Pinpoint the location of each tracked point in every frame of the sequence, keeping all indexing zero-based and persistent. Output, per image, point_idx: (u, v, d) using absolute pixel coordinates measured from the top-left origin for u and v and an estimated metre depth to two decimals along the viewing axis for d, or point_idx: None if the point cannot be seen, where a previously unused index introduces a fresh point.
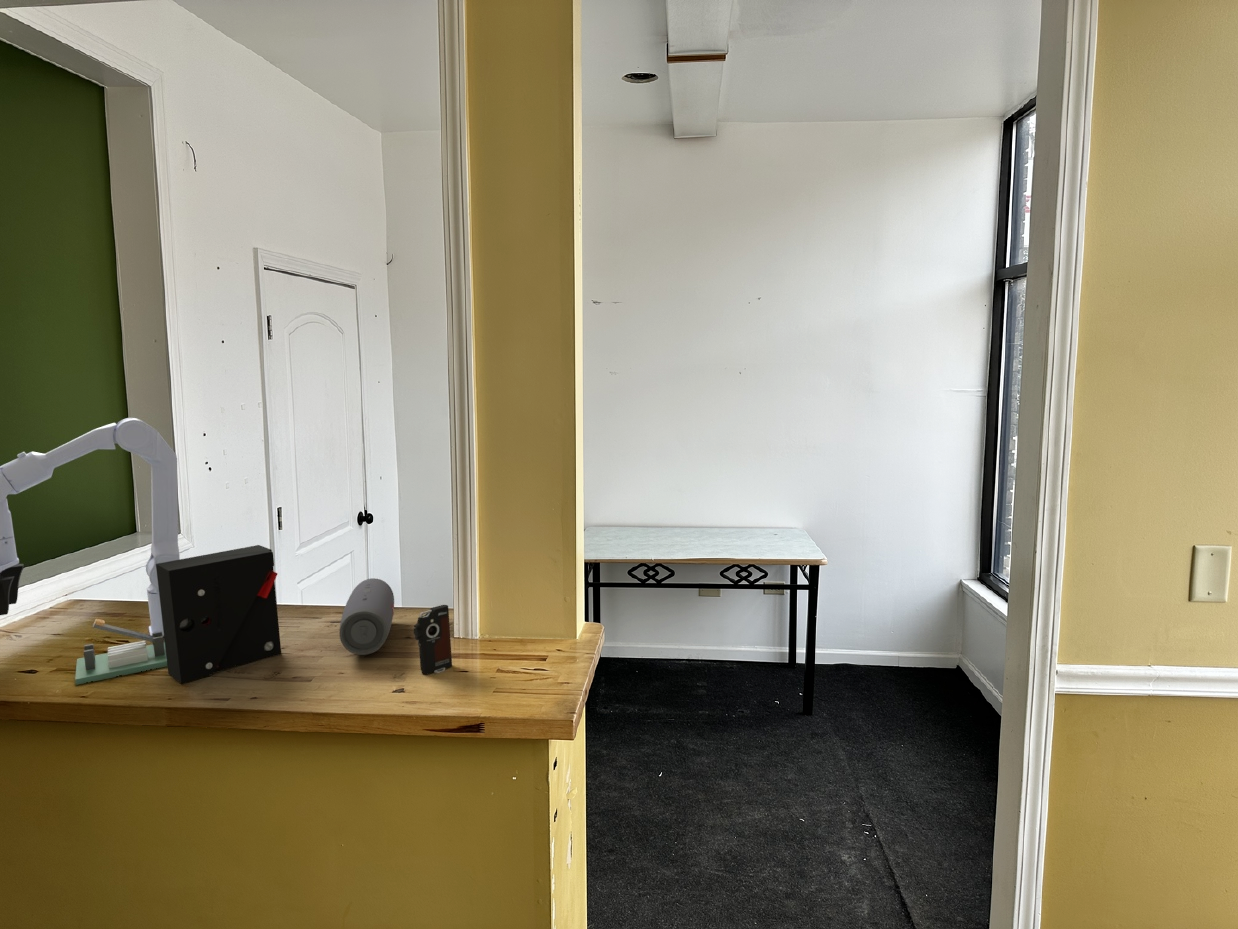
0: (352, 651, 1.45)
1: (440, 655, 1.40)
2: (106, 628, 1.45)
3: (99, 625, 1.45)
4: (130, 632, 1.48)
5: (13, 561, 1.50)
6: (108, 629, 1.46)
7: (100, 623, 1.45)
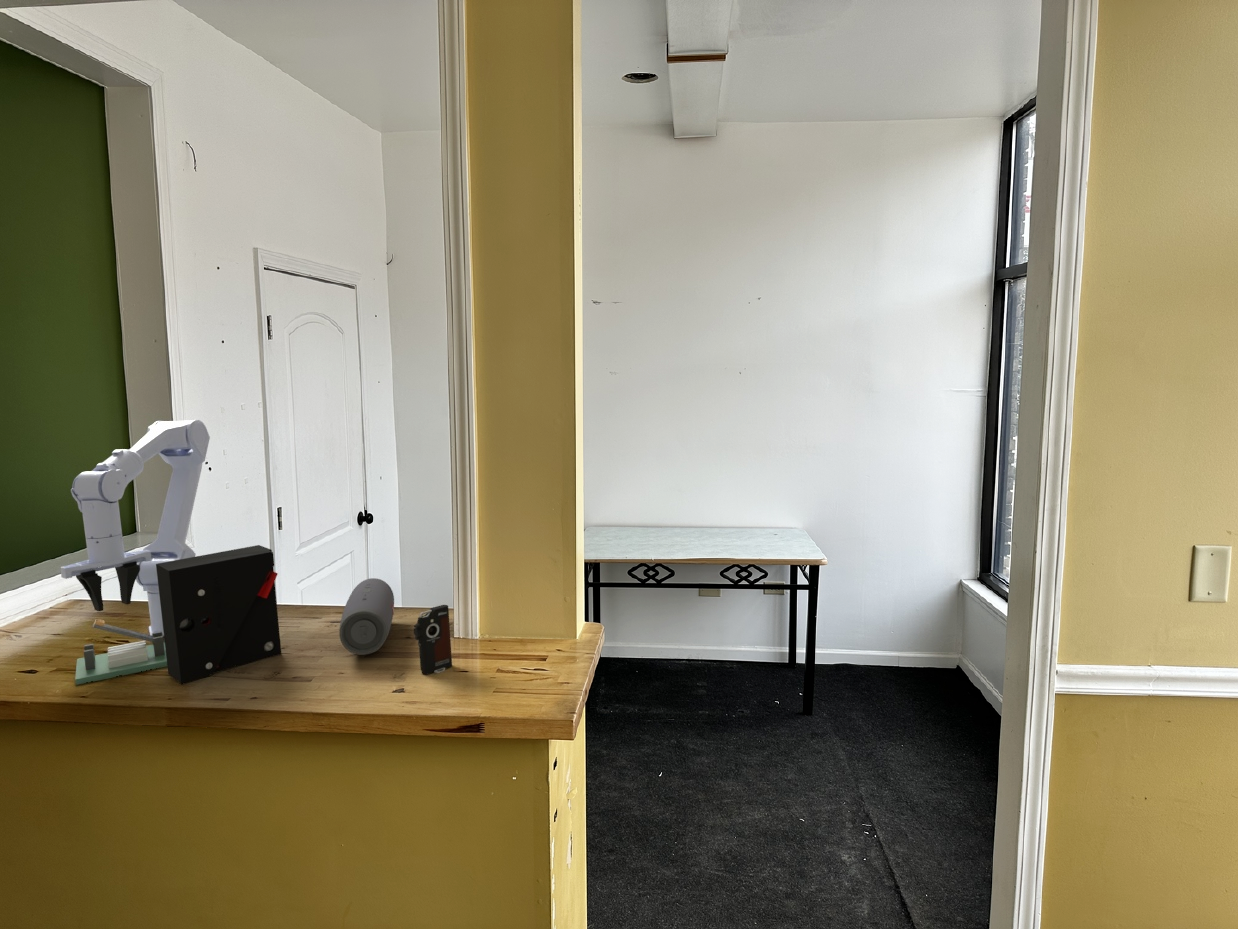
0: (352, 651, 1.45)
1: (440, 655, 1.40)
2: (106, 628, 1.45)
3: (99, 625, 1.45)
4: (130, 632, 1.48)
5: (103, 562, 1.47)
6: (108, 629, 1.46)
7: (100, 623, 1.45)
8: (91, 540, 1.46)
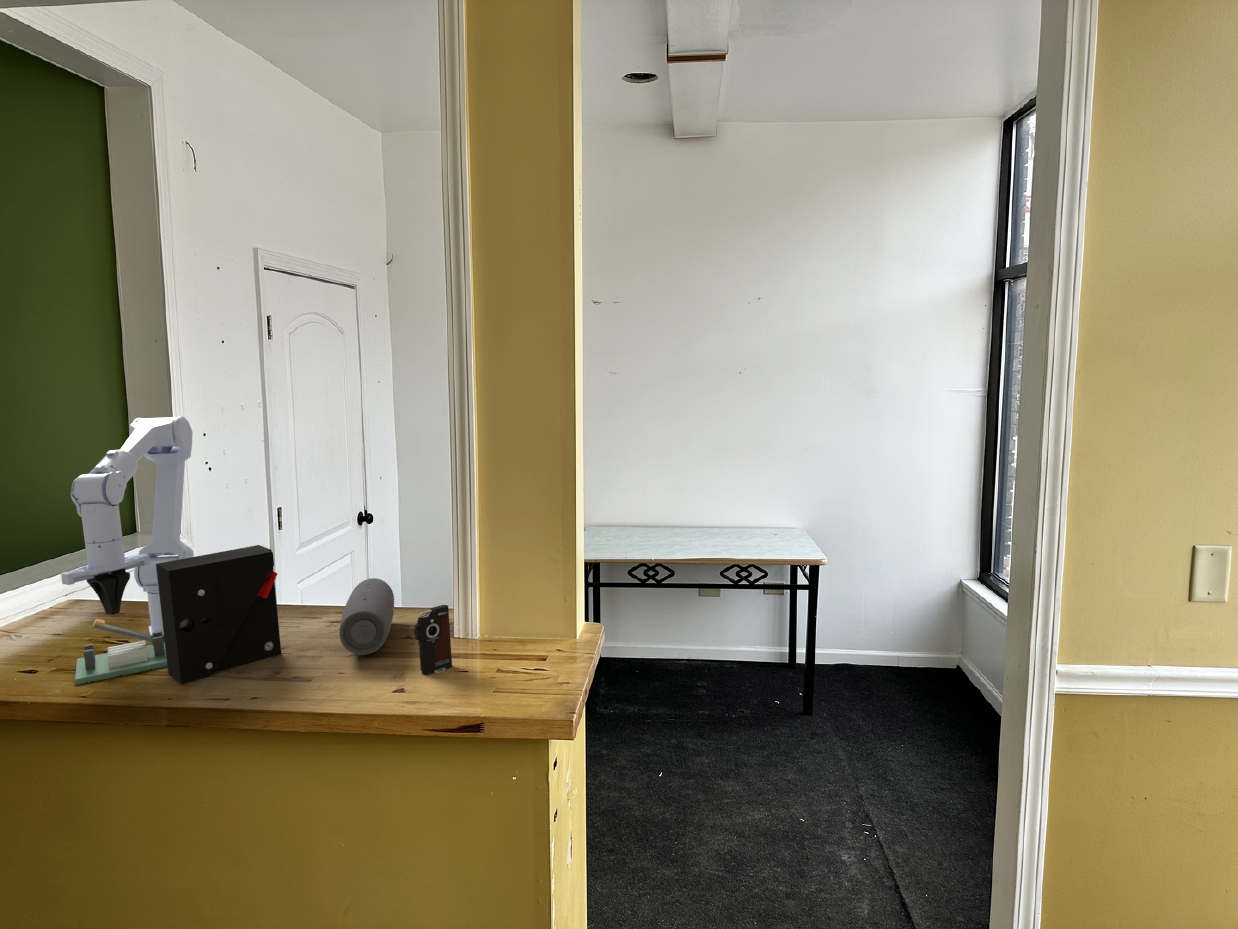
0: (352, 651, 1.45)
1: (440, 655, 1.40)
2: (106, 628, 1.45)
3: (99, 625, 1.45)
4: (130, 632, 1.48)
5: (106, 567, 1.43)
6: (108, 629, 1.46)
7: (100, 623, 1.45)
8: (93, 545, 1.42)
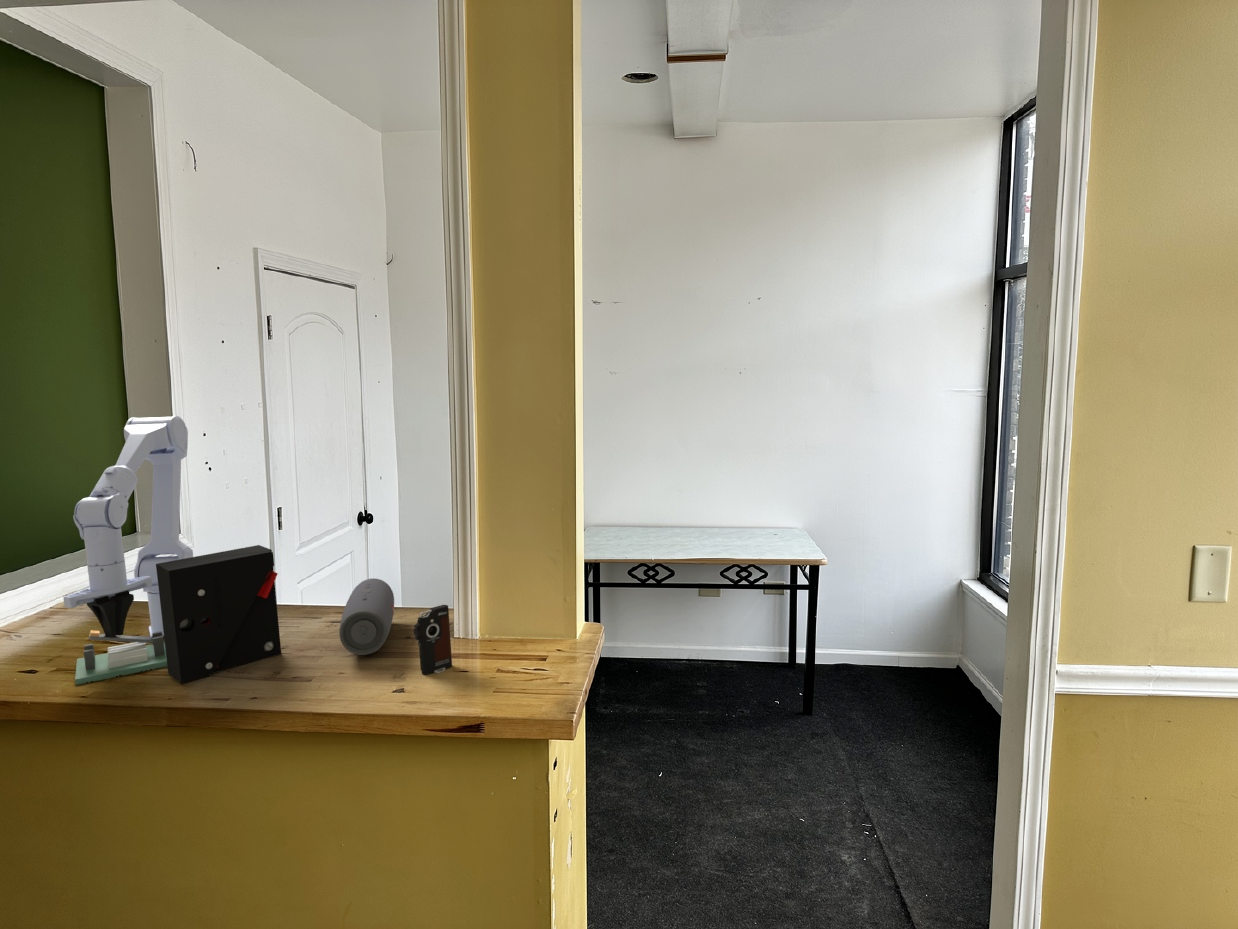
0: (352, 651, 1.45)
1: (440, 655, 1.40)
2: (102, 638, 1.45)
3: (94, 636, 1.45)
4: (127, 637, 1.48)
5: (108, 590, 1.43)
6: (104, 638, 1.45)
7: (95, 634, 1.45)
8: (95, 568, 1.42)
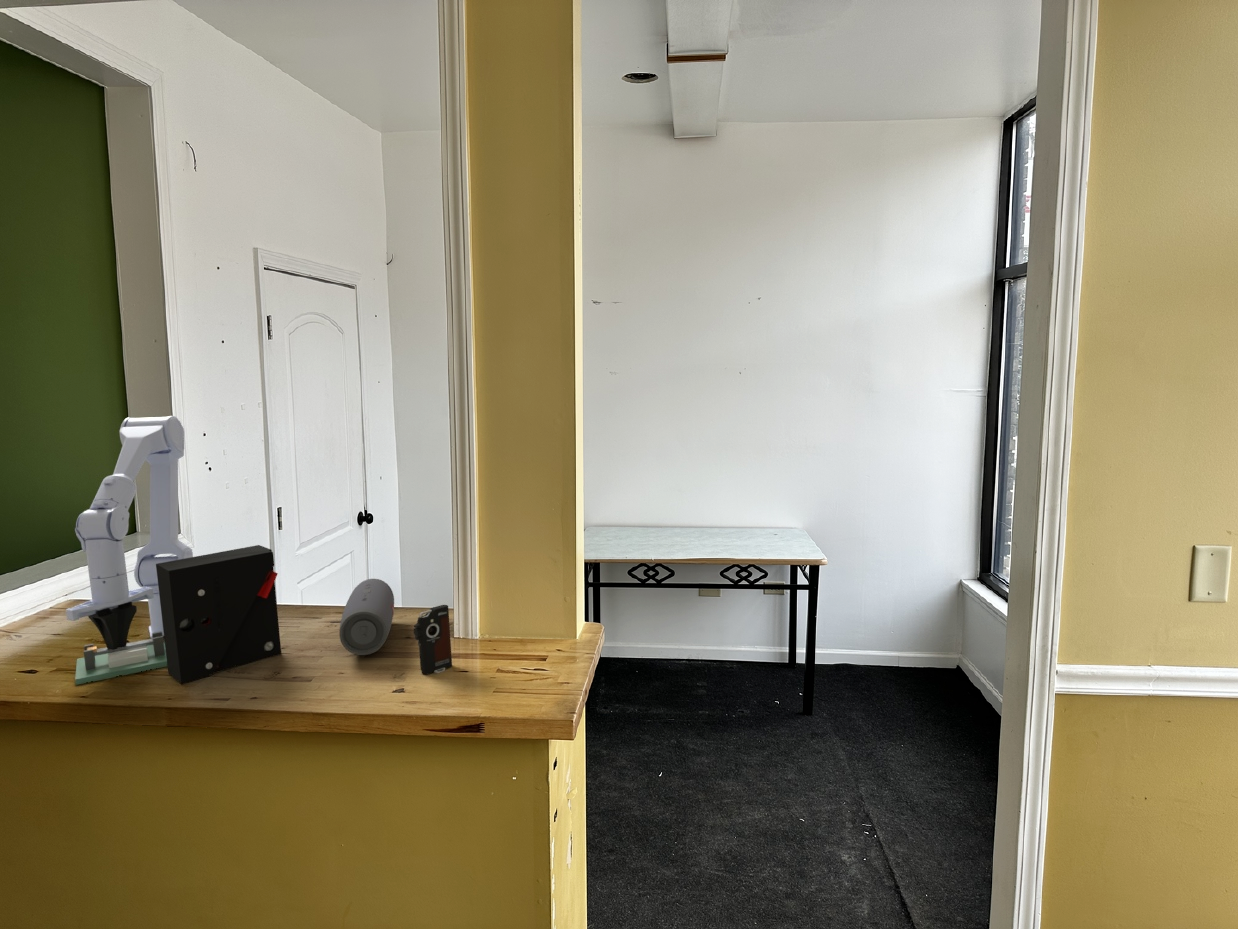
0: (352, 651, 1.45)
1: (440, 655, 1.40)
2: (101, 652, 1.45)
3: None
4: (126, 645, 1.48)
5: (110, 602, 1.44)
6: (103, 652, 1.45)
7: None
8: (97, 580, 1.43)
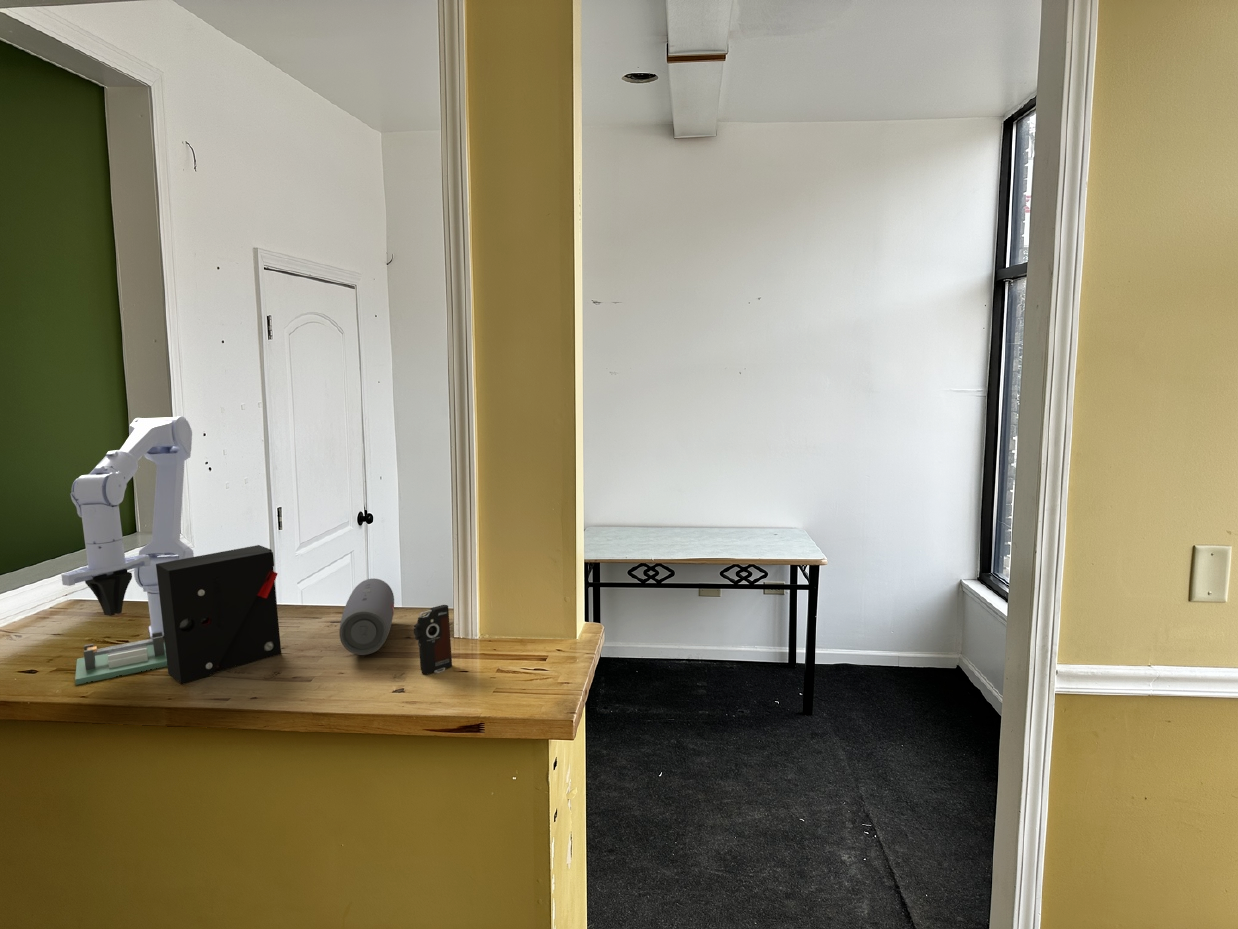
0: (352, 651, 1.45)
1: (440, 655, 1.40)
2: (101, 652, 1.45)
3: None
4: (126, 645, 1.48)
5: (106, 568, 1.43)
6: (103, 652, 1.45)
7: None
8: (93, 545, 1.42)
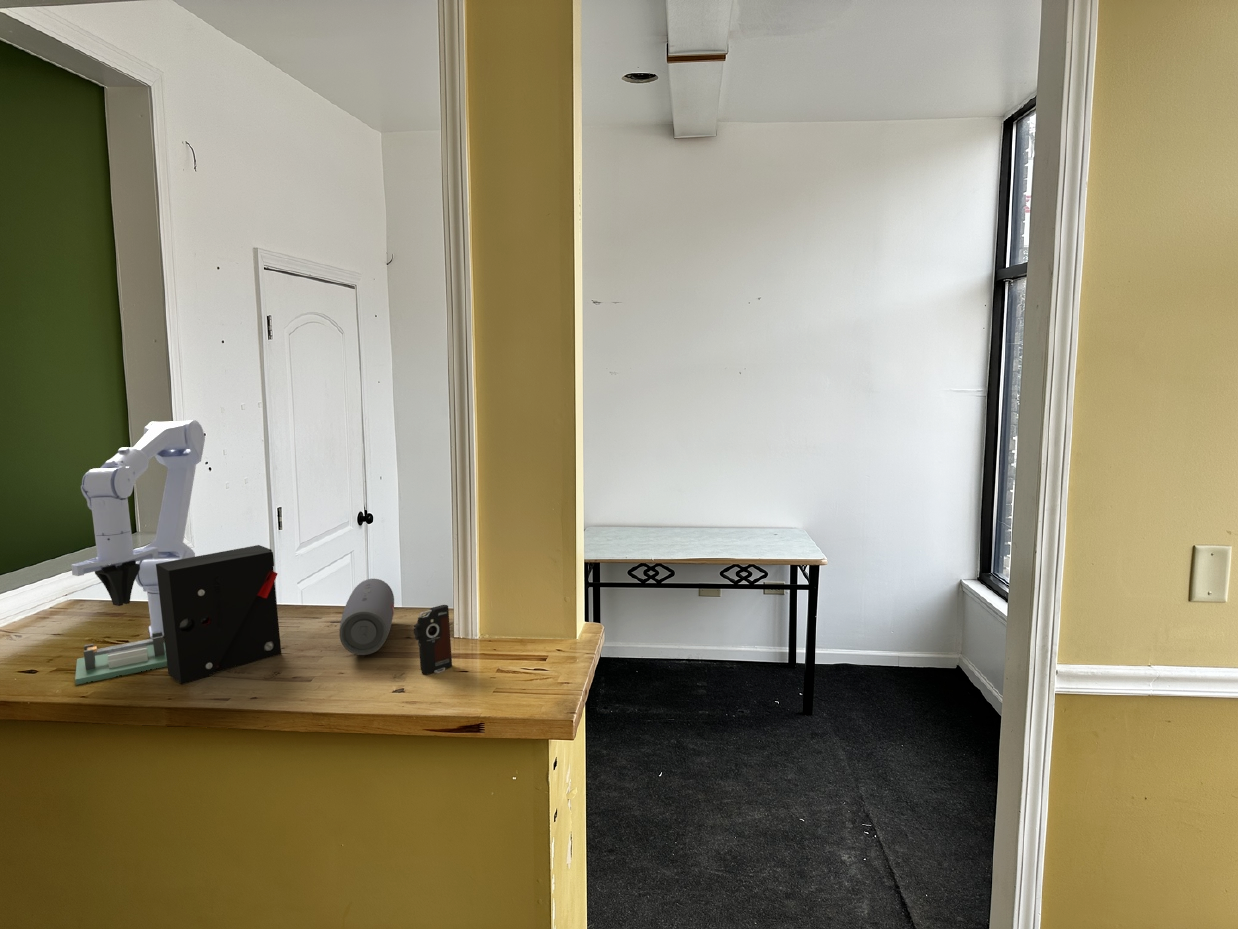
0: (352, 651, 1.45)
1: (440, 655, 1.40)
2: (101, 652, 1.45)
3: None
4: (126, 645, 1.48)
5: (115, 559, 1.47)
6: (103, 652, 1.45)
7: None
8: (102, 537, 1.46)
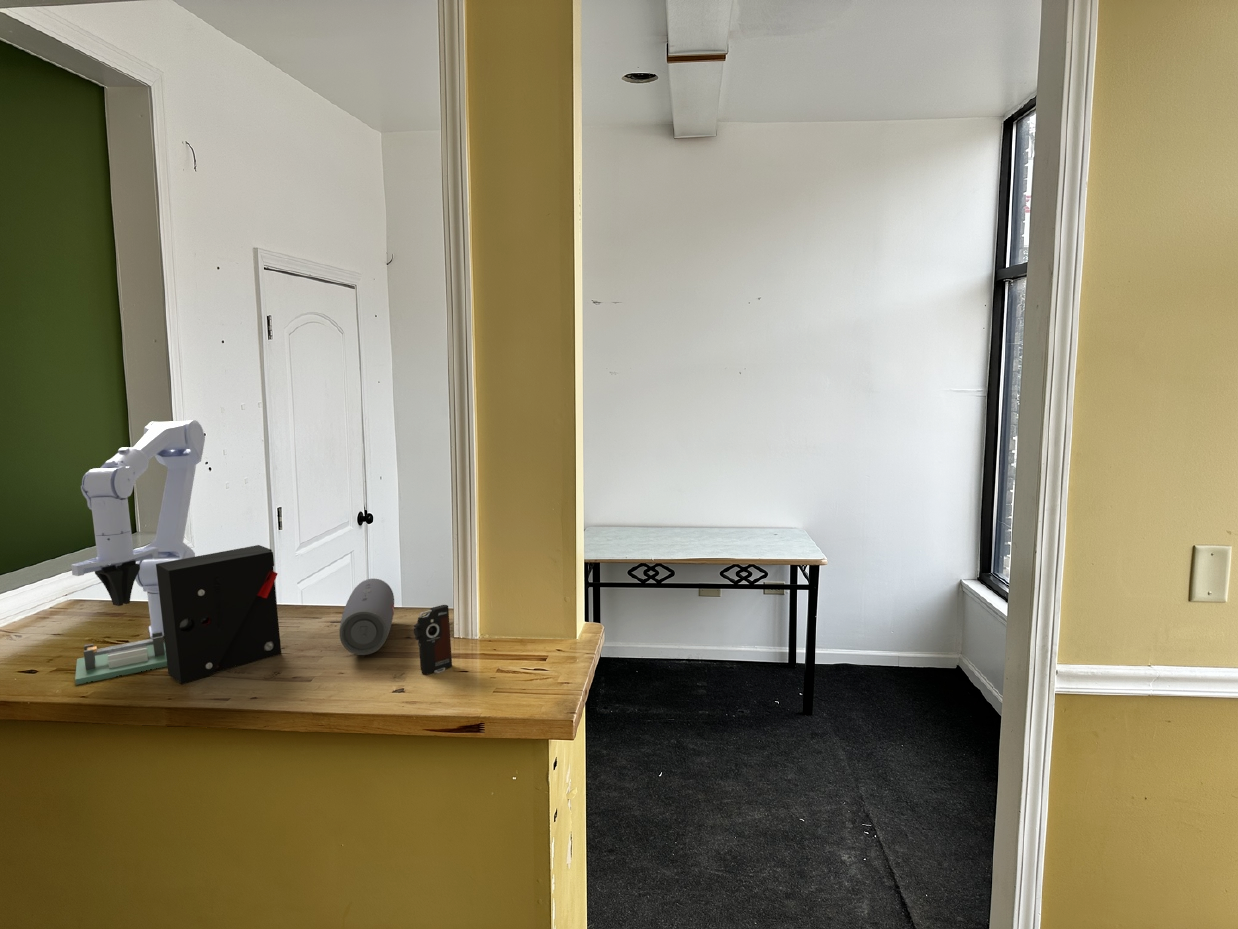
0: (352, 651, 1.45)
1: (440, 655, 1.40)
2: (101, 652, 1.45)
3: None
4: (126, 645, 1.48)
5: (115, 559, 1.47)
6: (103, 652, 1.45)
7: None
8: (102, 537, 1.46)
